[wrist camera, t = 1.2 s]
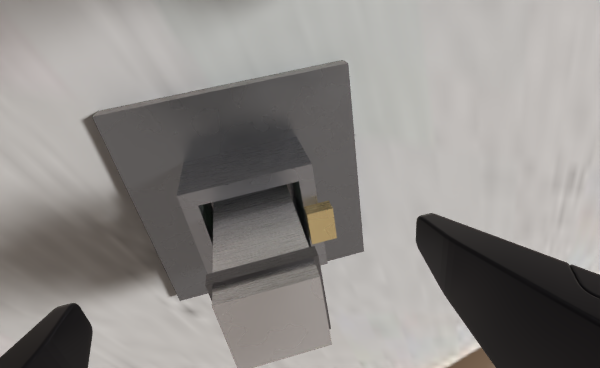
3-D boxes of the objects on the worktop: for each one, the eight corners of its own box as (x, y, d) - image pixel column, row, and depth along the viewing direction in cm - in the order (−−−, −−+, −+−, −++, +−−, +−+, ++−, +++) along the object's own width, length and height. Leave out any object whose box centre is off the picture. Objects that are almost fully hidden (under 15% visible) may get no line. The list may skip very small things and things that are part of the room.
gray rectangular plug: (281, 159, 21) (324, 271, 13) (293, 217, 24) (336, 345, 15) (209, 176, 21) (204, 303, 12) (228, 233, 23) (235, 375, 14)
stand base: (342, 60, 20) (383, 81, 15) (359, 243, 27) (390, 298, 22) (97, 111, 19) (55, 152, 14) (181, 290, 26) (172, 360, 21)
